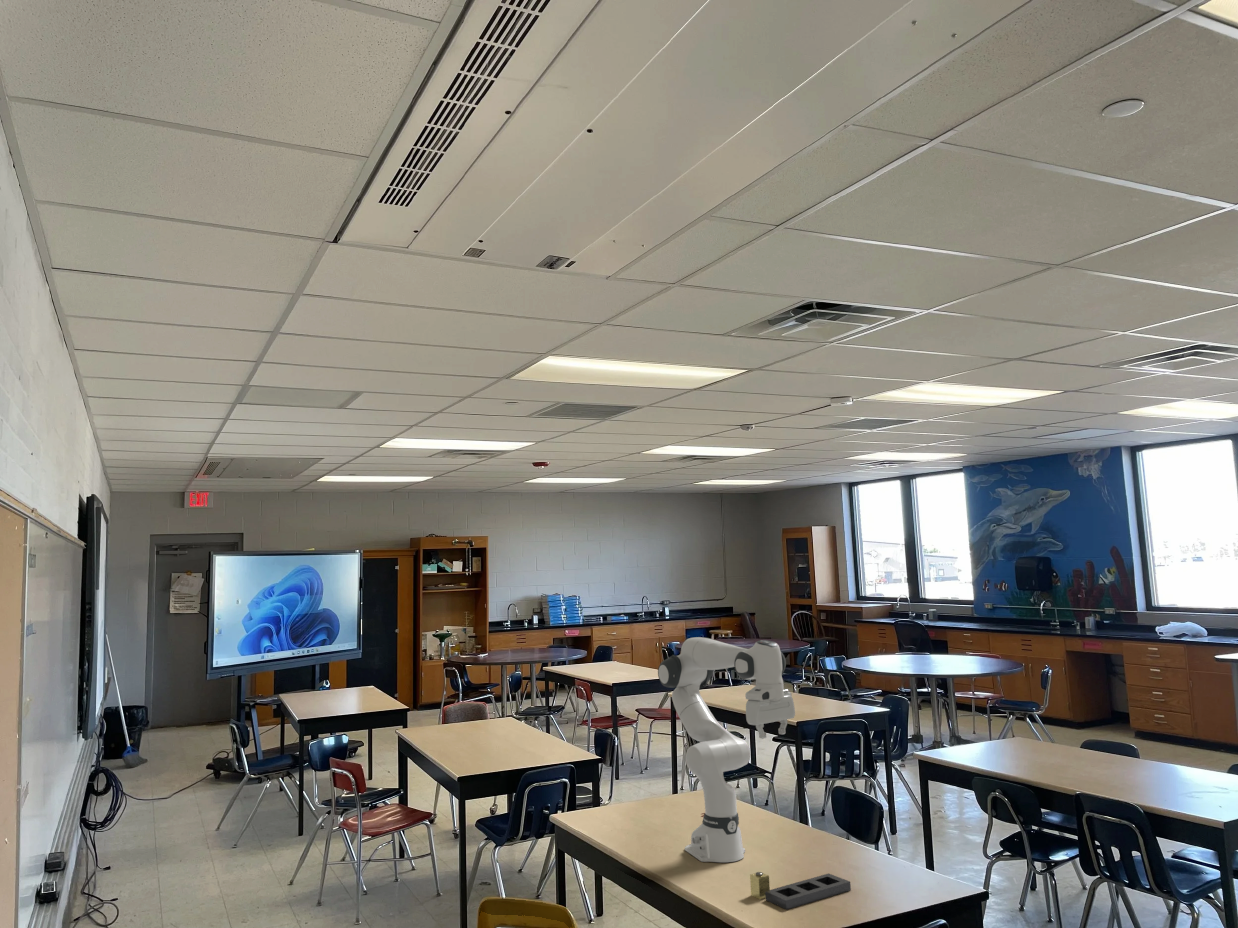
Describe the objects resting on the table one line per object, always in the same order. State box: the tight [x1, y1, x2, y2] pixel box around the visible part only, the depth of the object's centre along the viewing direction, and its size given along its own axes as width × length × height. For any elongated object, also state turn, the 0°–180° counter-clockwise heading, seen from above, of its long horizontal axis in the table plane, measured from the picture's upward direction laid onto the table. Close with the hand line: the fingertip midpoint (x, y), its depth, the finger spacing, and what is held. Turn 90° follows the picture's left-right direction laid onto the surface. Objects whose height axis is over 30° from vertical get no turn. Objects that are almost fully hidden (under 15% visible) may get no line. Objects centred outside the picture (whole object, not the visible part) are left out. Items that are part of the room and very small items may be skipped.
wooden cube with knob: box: [749, 871, 771, 900], centre depth 248 cm, size 4×4×6 cm
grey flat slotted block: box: [765, 873, 852, 911], centre depth 248 cm, size 9×26×2 cm, turn 121°
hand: (772, 735), depth 265 cm, fingers open, 8 cm apart
